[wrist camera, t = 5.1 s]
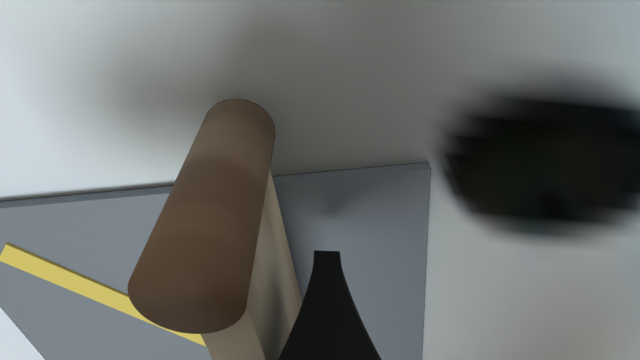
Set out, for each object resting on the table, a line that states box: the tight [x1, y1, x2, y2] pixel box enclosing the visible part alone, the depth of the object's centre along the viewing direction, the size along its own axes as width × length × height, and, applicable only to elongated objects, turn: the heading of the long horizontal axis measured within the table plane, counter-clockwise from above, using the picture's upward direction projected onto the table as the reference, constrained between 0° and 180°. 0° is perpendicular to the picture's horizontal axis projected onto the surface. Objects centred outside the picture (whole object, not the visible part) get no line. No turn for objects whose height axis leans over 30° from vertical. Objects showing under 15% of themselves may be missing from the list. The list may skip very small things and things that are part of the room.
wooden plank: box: [127, 99, 302, 360], centre depth 13 cm, size 14×2×6 cm, turn 7°
